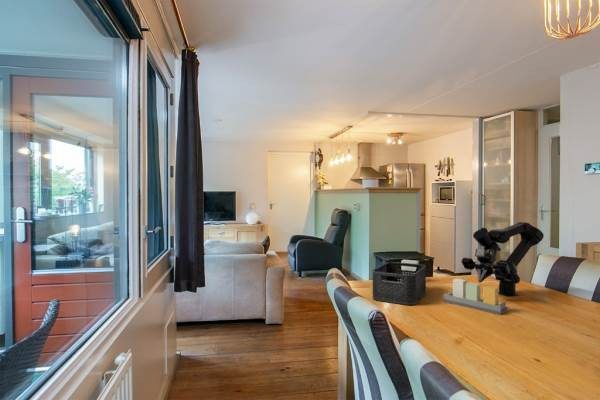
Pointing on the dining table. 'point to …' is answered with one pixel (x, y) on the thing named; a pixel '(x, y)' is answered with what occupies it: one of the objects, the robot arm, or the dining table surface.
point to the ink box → (409, 267)
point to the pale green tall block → (473, 291)
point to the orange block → (490, 295)
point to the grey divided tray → (476, 304)
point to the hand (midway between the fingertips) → (479, 281)
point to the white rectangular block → (459, 287)
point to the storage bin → (399, 283)
